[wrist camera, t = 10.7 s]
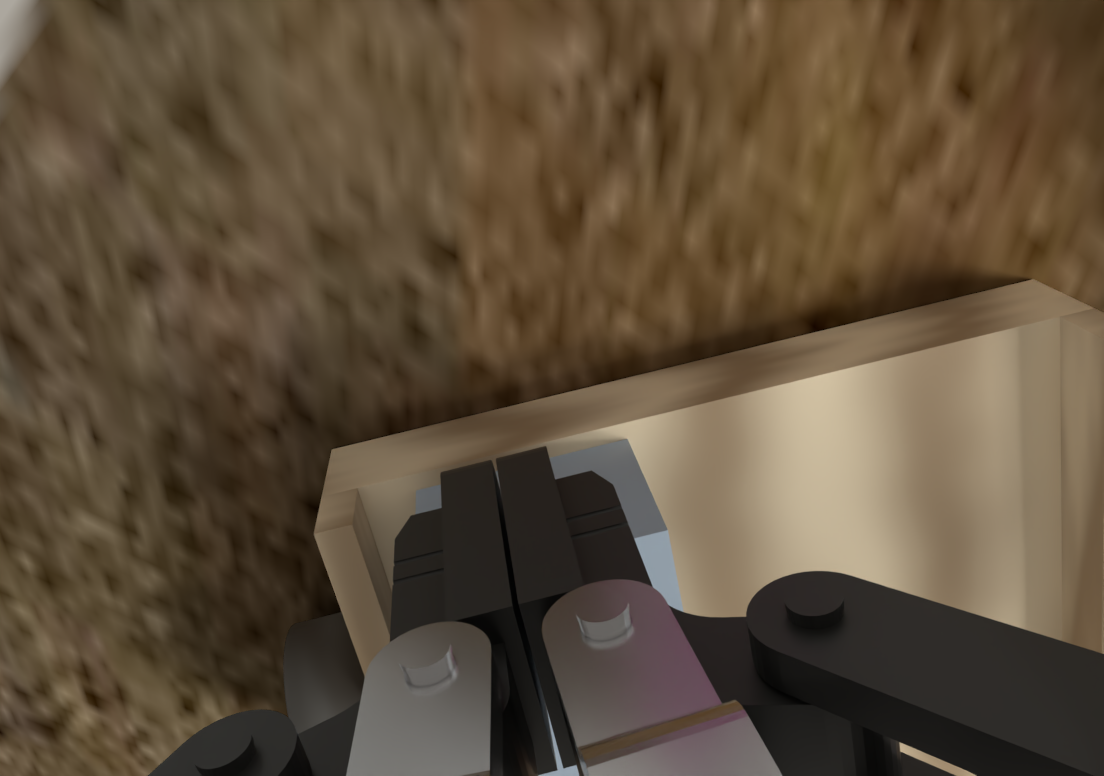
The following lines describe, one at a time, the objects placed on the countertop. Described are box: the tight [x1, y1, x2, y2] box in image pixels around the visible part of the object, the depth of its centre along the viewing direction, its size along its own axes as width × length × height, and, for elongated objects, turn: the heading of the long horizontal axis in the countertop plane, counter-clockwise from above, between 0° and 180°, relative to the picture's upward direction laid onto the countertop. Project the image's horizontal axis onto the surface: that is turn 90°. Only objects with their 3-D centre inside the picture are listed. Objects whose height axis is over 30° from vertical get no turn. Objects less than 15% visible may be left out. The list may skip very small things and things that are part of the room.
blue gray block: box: [415, 439, 684, 776], centre depth 26 cm, size 6×7×5 cm
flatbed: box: [283, 279, 1104, 776], centre depth 31 cm, size 27×18×5 cm, turn 102°
